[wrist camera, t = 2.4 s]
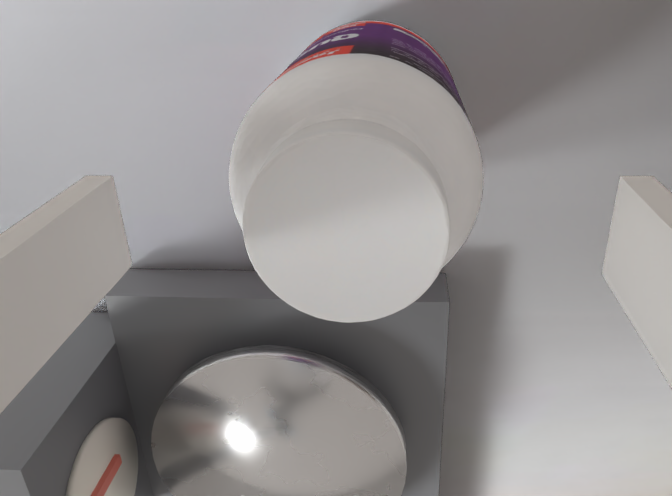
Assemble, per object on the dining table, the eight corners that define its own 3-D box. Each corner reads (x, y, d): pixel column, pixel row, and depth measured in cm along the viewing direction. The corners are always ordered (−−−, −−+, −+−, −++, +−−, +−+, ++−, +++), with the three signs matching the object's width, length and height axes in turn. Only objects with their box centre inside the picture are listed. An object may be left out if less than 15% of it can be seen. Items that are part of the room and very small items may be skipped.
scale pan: (185, 512, 37) (173, 542, 35) (145, 330, 31) (128, 355, 29) (404, 525, 36) (404, 557, 34) (408, 337, 30) (408, 363, 28)
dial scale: (136, 489, 42) (45, 672, 31) (78, 268, 34) (-72, 411, 23) (433, 506, 39) (445, 709, 29) (445, 273, 32) (468, 434, 21)
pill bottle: (355, -22, 26) (311, -4, 13) (491, 93, 27) (572, 212, 14) (255, 121, 29) (139, 250, 16) (381, 216, 30) (368, 403, 18)
